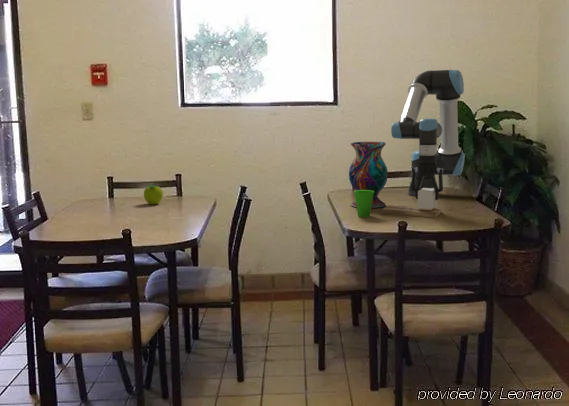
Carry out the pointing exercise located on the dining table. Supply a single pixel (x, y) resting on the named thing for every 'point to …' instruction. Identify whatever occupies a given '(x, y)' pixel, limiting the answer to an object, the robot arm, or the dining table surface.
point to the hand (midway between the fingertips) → (426, 206)
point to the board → (410, 211)
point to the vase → (368, 170)
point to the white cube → (425, 198)
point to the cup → (364, 202)
